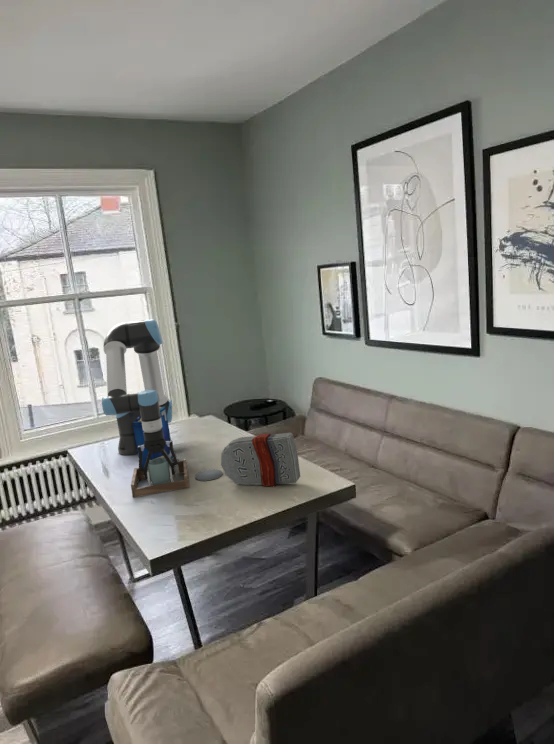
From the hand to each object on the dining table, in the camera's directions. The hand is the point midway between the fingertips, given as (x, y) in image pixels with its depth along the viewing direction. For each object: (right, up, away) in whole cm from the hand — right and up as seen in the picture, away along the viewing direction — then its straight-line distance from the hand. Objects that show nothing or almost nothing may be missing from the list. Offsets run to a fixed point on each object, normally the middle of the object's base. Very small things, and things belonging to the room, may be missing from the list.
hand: (161, 484), depth 221 cm
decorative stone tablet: (+40, +2, -10) cm, 41 cm away
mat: (+18, +3, +5) cm, 19 cm away
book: (-6, +3, +21) cm, 22 cm away
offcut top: (-2, +6, +8) cm, 10 cm away
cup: (0, 0, 0) cm, 0 cm away
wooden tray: (0, 0, +1) cm, 2 cm away
